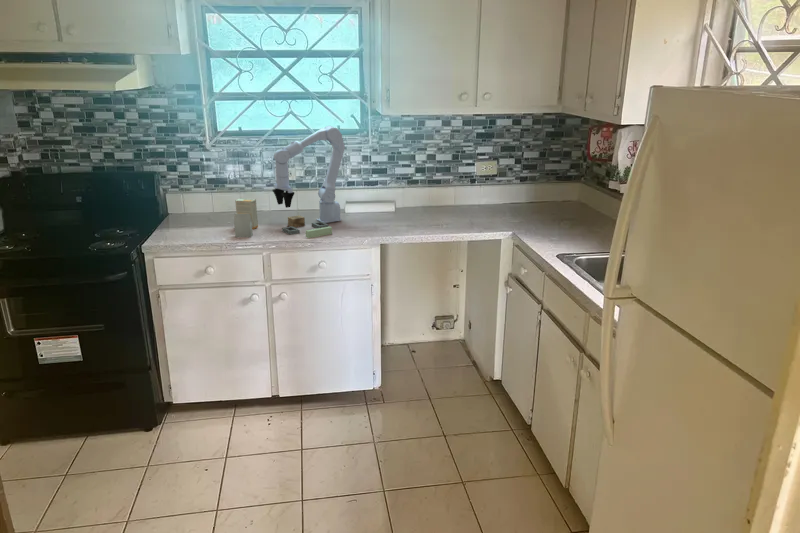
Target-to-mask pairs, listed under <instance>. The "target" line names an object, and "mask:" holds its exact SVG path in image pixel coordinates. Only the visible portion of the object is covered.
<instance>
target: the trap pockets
mask: <svg viewBox="0 0 800 533" xmlns="http://www.w3.org/2000/svg"><path fill="white" fill-rule="evenodd" d="M311 227H312V228H313V229H308V230H305V238H306V237H307V239H311V238H317V237H322V236H328V234H329V235H333V227H332V226H330V225H329V223H324V222H320V221H315V222H312V223H311ZM281 230H282V232H283V233H285V234H287V235H296V234H300V232H301V231H300V229H299V228H298V227H293V226H285V227H282V228H281Z"/></svg>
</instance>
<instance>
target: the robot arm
mask: <svg viewBox="0 0 800 533" xmlns="http://www.w3.org/2000/svg"><path fill="white" fill-rule="evenodd" d="M318 141H328V142H329V143H330V145H331V147H332V152H331V156H330V160H329V162H328V168H327V170H326V175H325V178H324V181H323V183H322V184H321V187H320V188H319V189H318V191H317V192H318V193H317V194H318V198H319V200H318V202H319V203H318V206H319V218H315V219H316V221H317V222H324V223H326V224H329V223H334V222H339V221H340V222H341V221H342V219H341V205H340V203H339V201H337V200H335V199H336V183H337V178H338V175H339V171H340V166H341V163H342V160H343V157H344V153H345V152H344V151H345V150H346V147H345V142H344V138H343V134H342V132H341V131H340V130H339V129H338V128H337V127H334V126H332V125H326V126H325V127H322V128H320V129H318V130H317V131H314V132H313V133H312V134H310V135H308V136H307V137H305V138H303V139H302V140H300V141H298V140H292V141H290V143H289V144H287V145H286V146H282V147H281V148H280V149H279V148H278V149H277V150H276V151H274V154H273V158H274V160H275V163H274V164H275V167H274V168H275V180H276V181H275V182H276V183H274V184H273V189H272V192H273V194H274V196H275V198H276V202H277V205H283V204H284V205H285V208H291V206H292V201H293V198H294V195H295V192H294V191H293V188H292V187H291V186H290V177H289V176H290V175H289V174H290V173H289V163H288V162H289V159H292V158H294V157H296V156H298V155H300V154H302V153H303V152H304V148H307V147H308V146H310V145H312V144H314V143H316V142H318Z"/></svg>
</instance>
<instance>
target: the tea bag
mask: <svg viewBox="0 0 800 533" xmlns="http://www.w3.org/2000/svg"><path fill="white" fill-rule="evenodd" d="M233 216H234V220H233V226H234V236H235V238H252V237H253V229H252V221H251V215H250V214H236V213H234V214H233Z"/></svg>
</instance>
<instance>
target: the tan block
mask: <svg viewBox="0 0 800 533" xmlns="http://www.w3.org/2000/svg"><path fill="white" fill-rule="evenodd" d="M287 225H288V227H291V226H293V227H295V228H298V226H299V227H304V225H305V226H306V224H305V216H302V215H293V216H288V217H287Z"/></svg>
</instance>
